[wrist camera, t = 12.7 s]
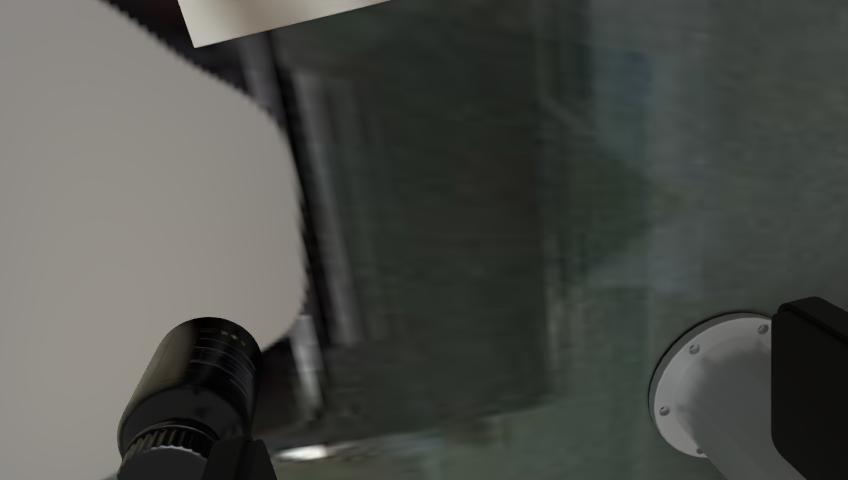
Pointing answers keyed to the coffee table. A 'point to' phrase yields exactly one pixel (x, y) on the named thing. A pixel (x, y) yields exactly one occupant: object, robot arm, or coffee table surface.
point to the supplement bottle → (190, 400)
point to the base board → (255, 16)
